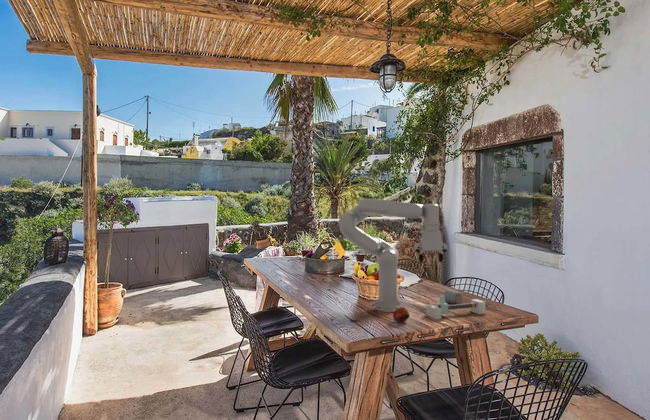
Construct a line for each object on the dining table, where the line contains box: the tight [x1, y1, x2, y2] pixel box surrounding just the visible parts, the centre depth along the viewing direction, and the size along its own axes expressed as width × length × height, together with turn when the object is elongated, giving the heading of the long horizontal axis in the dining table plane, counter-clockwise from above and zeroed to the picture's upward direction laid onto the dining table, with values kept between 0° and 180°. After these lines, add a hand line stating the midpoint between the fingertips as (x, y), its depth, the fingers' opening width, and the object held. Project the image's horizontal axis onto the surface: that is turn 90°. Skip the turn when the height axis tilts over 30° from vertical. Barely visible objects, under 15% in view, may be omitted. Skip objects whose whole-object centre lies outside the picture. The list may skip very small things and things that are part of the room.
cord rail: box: [425, 298, 486, 320], centre depth 195 cm, size 30×8×6 cm, turn 110°
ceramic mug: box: [443, 288, 464, 305], centre depth 218 cm, size 11×8×8 cm
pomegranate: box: [392, 306, 410, 325], centre depth 181 cm, size 7×7×10 cm
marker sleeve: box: [435, 295, 449, 315], centre depth 192 cm, size 4×4×8 cm
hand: (430, 261), depth 197 cm, fingers open, 9 cm apart
